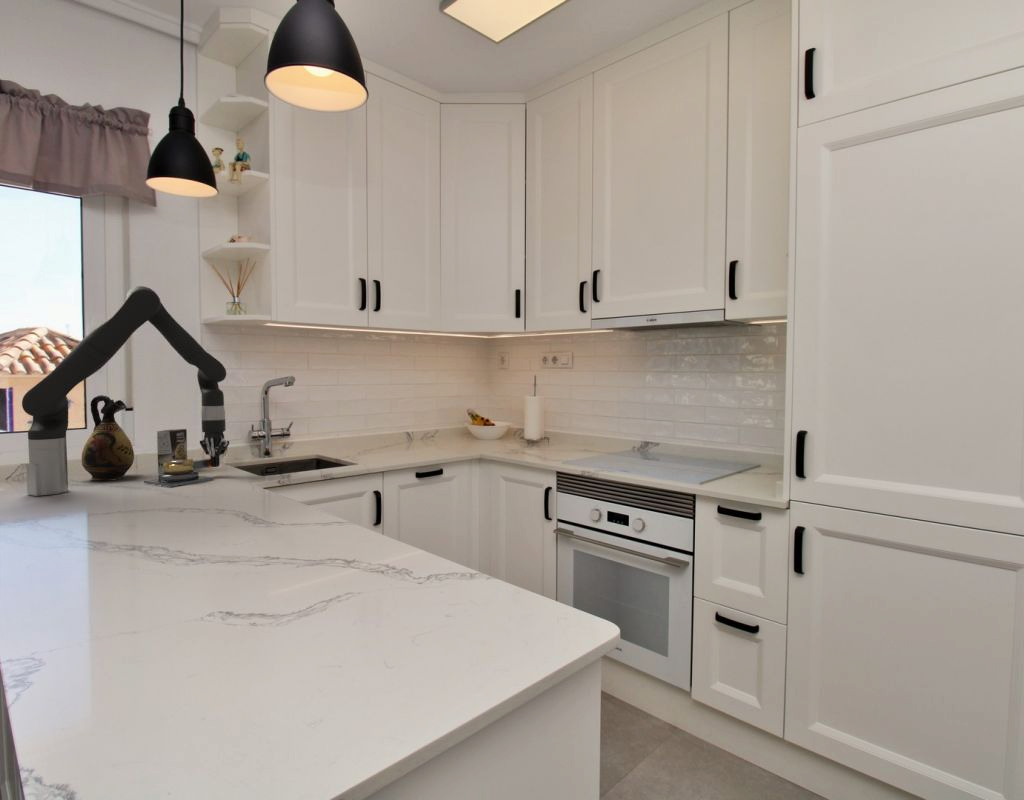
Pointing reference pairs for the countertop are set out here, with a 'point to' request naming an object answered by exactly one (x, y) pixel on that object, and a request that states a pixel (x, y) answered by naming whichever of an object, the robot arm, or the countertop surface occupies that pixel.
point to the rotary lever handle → (185, 466)
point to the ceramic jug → (107, 443)
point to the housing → (178, 478)
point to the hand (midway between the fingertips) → (215, 466)
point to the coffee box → (171, 446)
